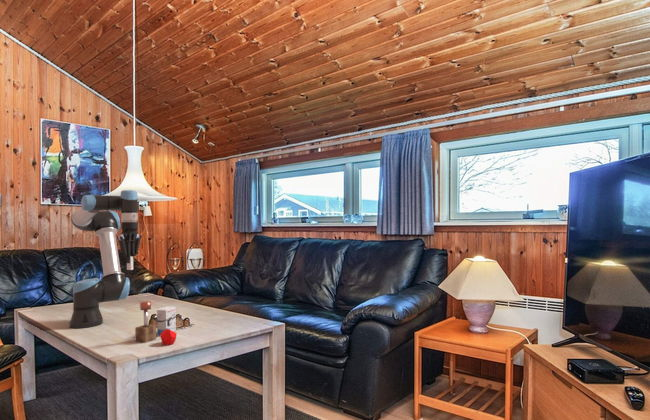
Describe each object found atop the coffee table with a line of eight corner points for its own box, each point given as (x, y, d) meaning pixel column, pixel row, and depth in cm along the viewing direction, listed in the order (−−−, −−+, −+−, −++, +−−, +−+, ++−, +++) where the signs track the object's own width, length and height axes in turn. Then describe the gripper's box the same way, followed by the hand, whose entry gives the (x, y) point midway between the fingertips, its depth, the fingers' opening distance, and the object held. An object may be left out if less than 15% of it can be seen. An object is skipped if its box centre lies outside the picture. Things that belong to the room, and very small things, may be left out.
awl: (138, 337, 183) (137, 302, 184) (146, 334, 187) (145, 301, 188) (145, 337, 181) (145, 303, 182) (153, 335, 185) (153, 301, 186)
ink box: (166, 335, 191) (165, 309, 191) (156, 335, 192) (156, 309, 192) (176, 330, 199) (176, 306, 200) (167, 330, 200) (167, 305, 201)
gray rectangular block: (174, 329, 202) (174, 328, 202) (188, 324, 212) (188, 323, 212) (180, 329, 201) (180, 329, 201) (194, 324, 210) (194, 324, 210)
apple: (179, 331, 176) (172, 322, 182) (162, 337, 172) (156, 327, 178) (180, 344, 179) (174, 334, 185) (164, 351, 175) (158, 340, 181)
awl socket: (135, 341, 183) (135, 327, 183) (146, 337, 188) (146, 324, 188) (145, 342, 180) (145, 328, 180) (156, 338, 186) (156, 325, 186)
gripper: (123, 221, 197) (124, 271, 197) (145, 221, 209) (146, 268, 209) (112, 222, 200) (113, 271, 200) (134, 221, 212) (135, 268, 212)
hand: (130, 269), depth 204 cm, fingers closed
